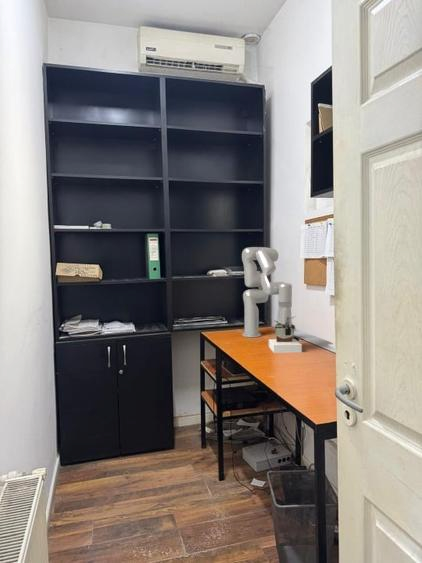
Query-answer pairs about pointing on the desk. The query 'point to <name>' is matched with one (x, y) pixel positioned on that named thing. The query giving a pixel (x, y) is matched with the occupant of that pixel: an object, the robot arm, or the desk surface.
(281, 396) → the desk surface
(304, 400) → the desk surface
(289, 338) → the food container
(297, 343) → the base block
